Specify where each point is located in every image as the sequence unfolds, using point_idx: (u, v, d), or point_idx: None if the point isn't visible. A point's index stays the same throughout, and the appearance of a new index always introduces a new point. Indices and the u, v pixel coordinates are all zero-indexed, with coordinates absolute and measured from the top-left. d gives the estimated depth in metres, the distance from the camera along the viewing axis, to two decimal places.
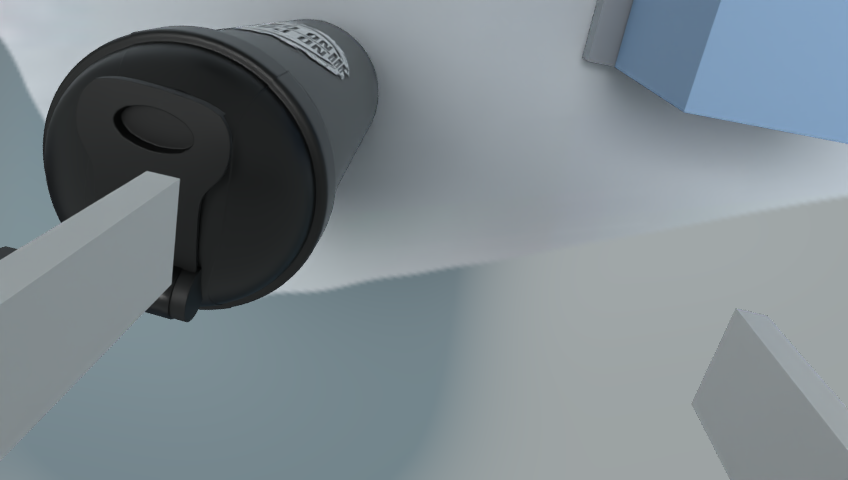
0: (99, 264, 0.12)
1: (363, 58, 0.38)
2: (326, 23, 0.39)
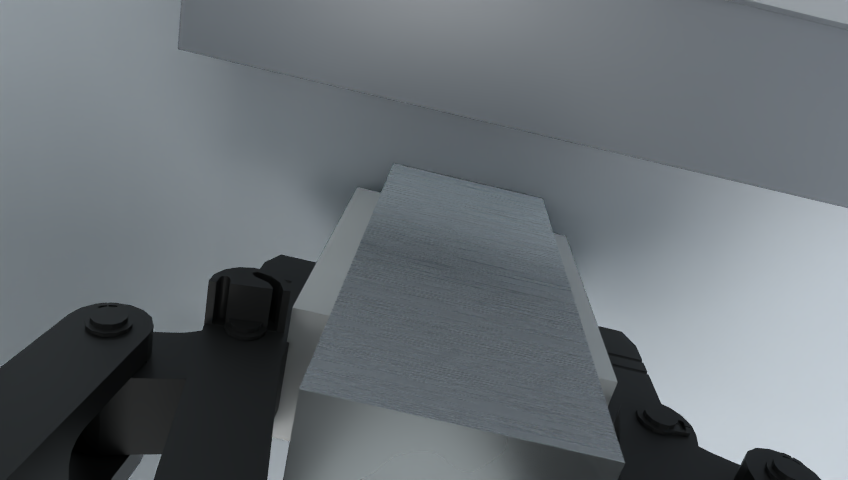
0: None
1: None
2: None
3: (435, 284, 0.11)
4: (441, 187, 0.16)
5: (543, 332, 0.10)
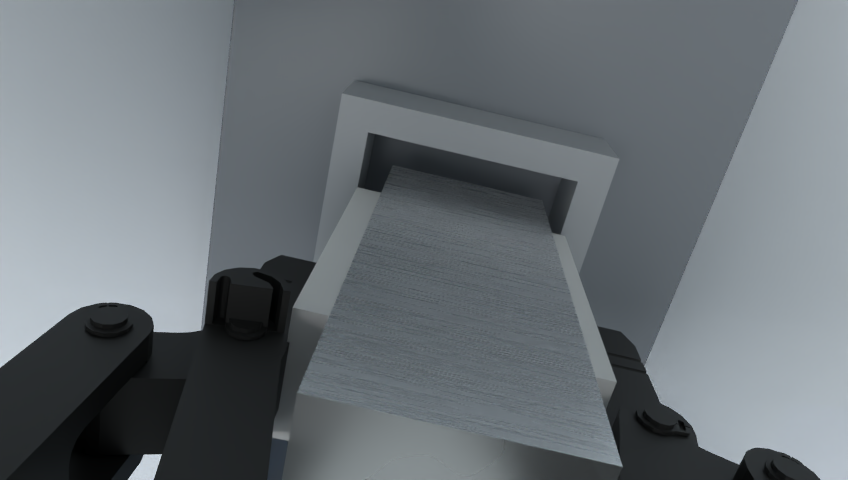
0: None
1: None
2: None
3: (435, 287, 0.11)
4: (440, 189, 0.16)
5: (541, 335, 0.10)
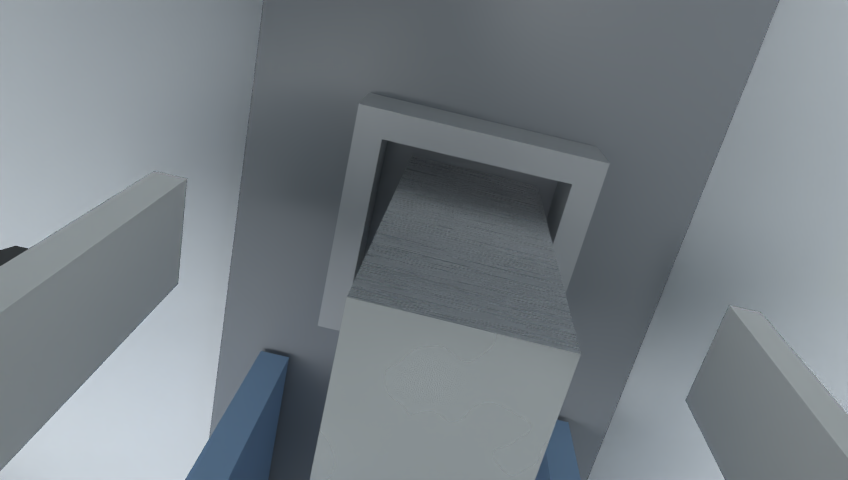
0: (109, 263, 0.12)
1: None
2: None
3: (446, 241, 0.14)
4: (451, 174, 0.19)
5: (528, 276, 0.13)
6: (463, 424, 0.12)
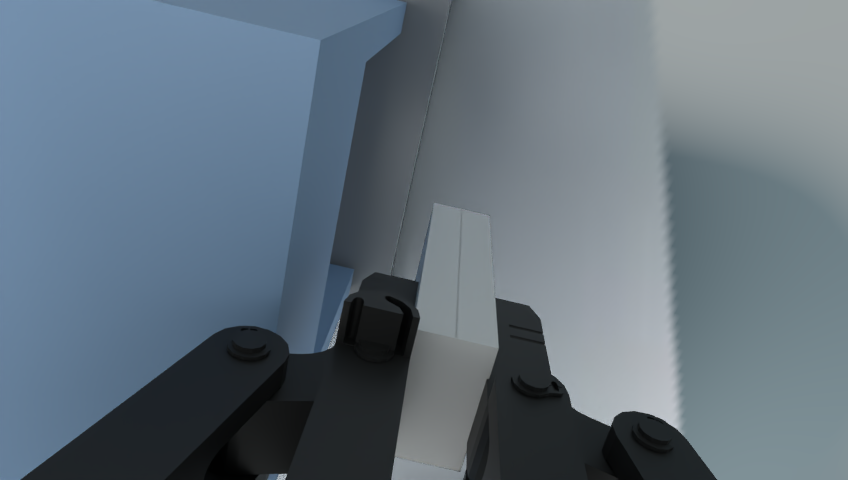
0: None
1: None
2: None
3: None
4: None
5: None
6: None
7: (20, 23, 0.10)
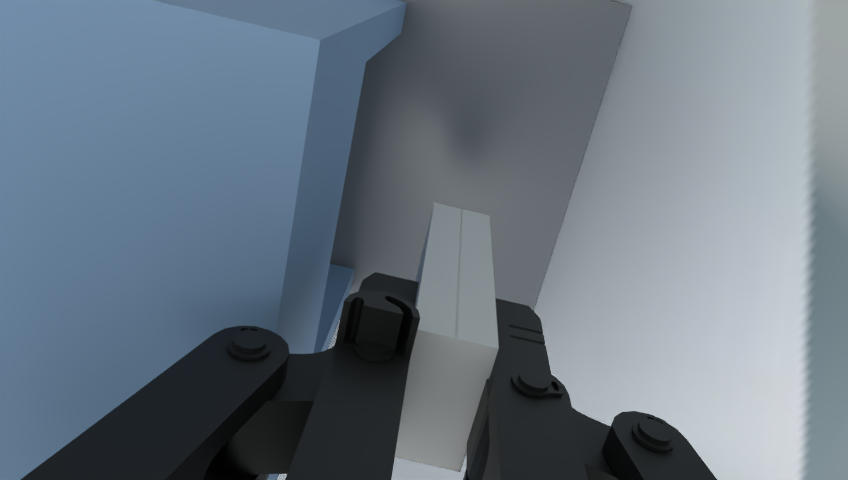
0: None
1: None
2: None
3: None
4: None
5: None
6: None
7: (20, 23, 0.10)
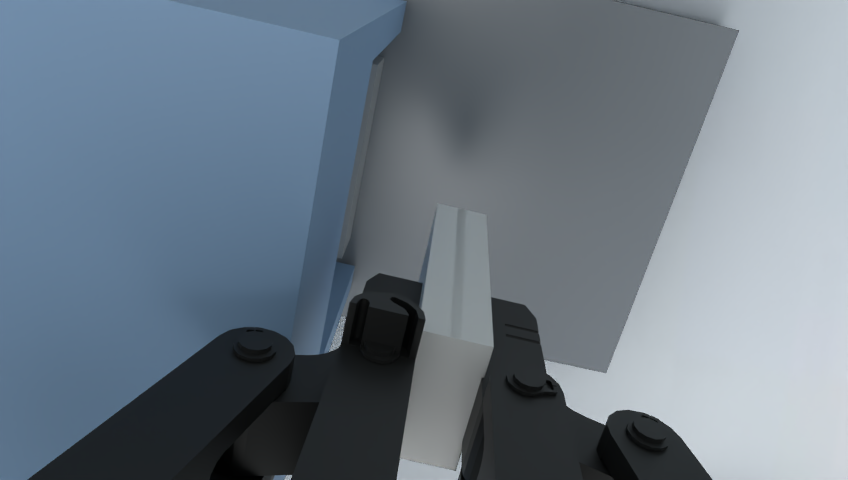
0: None
1: None
2: None
3: None
4: None
5: None
6: None
7: (43, 24, 0.10)
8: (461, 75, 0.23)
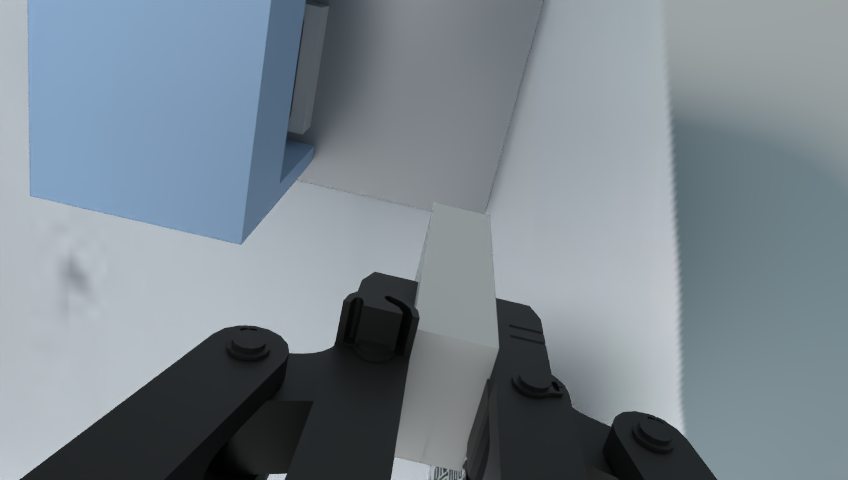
0: None
1: None
2: None
3: None
4: None
5: None
6: None
7: None
8: (377, 17, 0.37)
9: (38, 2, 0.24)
